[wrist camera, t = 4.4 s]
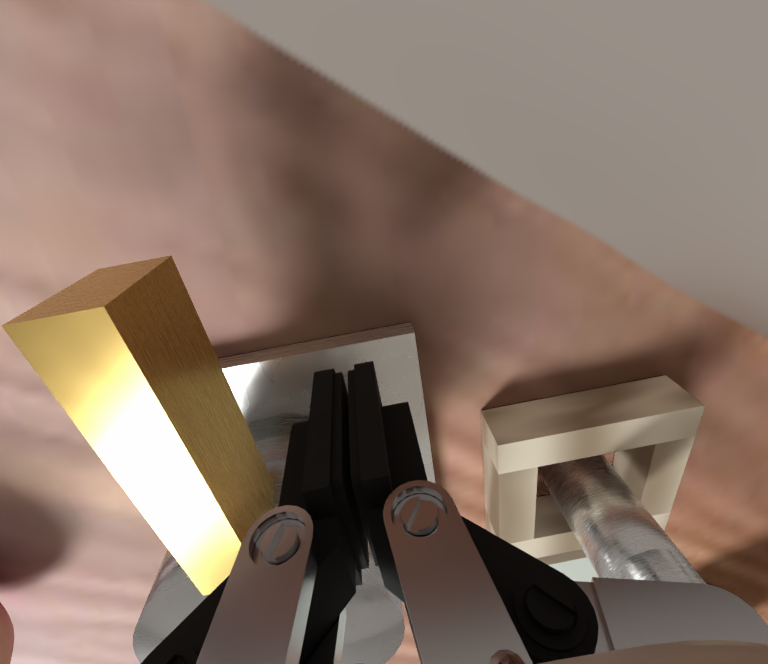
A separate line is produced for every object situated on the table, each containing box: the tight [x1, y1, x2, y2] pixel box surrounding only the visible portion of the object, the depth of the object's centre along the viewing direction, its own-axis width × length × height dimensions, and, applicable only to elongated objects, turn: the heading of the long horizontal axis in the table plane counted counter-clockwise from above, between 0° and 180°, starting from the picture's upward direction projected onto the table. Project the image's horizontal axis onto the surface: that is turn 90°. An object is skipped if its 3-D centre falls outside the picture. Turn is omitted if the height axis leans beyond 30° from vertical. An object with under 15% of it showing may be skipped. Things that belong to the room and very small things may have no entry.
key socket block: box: [481, 375, 705, 558], centre depth 21 cm, size 10×10×2 cm
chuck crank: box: [2, 256, 405, 664], centre depth 10 cm, size 18×9×8 cm, turn 9°
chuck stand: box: [218, 322, 435, 484], centre depth 18 cm, size 14×14×5 cm
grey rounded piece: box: [538, 454, 706, 584], centre depth 18 cm, size 4×4×9 cm
